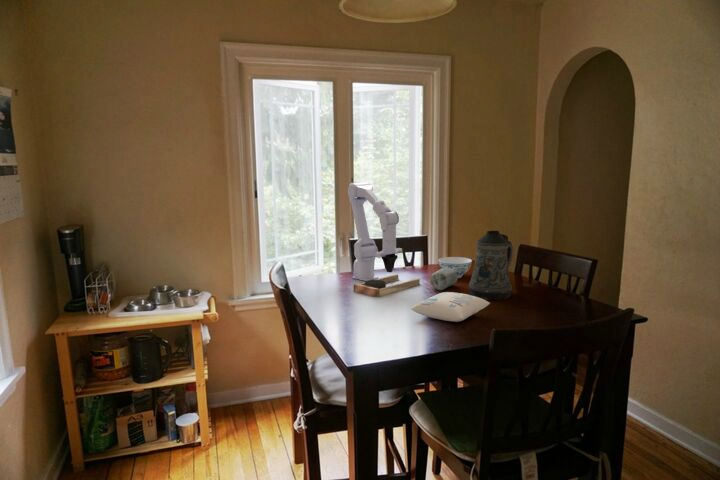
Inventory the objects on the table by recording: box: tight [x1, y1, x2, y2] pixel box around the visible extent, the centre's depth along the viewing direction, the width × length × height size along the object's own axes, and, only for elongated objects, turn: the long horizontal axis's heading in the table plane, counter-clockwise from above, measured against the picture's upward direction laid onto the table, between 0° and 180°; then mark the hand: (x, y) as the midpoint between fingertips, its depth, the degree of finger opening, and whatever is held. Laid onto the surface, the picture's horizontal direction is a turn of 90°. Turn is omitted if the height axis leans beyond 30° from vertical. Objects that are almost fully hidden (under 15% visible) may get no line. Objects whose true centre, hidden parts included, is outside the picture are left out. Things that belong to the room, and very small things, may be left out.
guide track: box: [352, 273, 421, 298], centre depth 192 cm, size 13×27×3 cm, turn 134°
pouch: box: [410, 291, 491, 323], centre depth 152 cm, size 8×19×20 cm
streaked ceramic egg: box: [430, 268, 458, 291], centre depth 190 cm, size 14×10×10 cm
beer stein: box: [468, 230, 514, 301], centre depth 179 cm, size 16×19×25 cm
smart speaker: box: [363, 279, 387, 289], centre depth 187 cm, size 9×9×4 cm
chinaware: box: [438, 256, 473, 279], centre depth 209 cm, size 15×15×8 cm
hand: (389, 271), depth 193 cm, fingers closed
